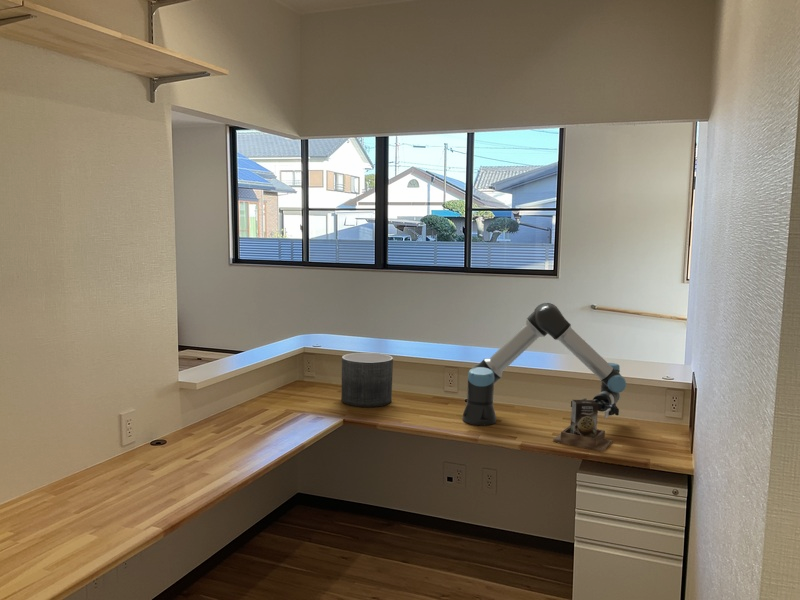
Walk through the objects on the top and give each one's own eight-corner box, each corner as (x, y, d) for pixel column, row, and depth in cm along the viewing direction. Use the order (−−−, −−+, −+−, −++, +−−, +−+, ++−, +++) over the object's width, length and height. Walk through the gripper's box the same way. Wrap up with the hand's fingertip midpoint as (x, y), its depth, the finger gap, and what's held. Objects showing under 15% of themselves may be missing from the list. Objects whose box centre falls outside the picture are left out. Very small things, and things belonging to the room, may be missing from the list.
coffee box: (574, 442, 246) (576, 403, 244) (569, 436, 252) (571, 399, 250) (596, 442, 246) (598, 403, 244) (590, 437, 252) (593, 399, 251)
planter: (397, 397, 312) (398, 354, 310) (383, 409, 288) (384, 364, 285) (351, 392, 319) (352, 351, 316) (333, 404, 294) (334, 359, 292)
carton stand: (553, 441, 249) (553, 430, 248) (564, 433, 260) (564, 422, 260) (602, 452, 238) (603, 440, 237) (611, 442, 249) (612, 432, 249)
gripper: (631, 414, 262) (619, 426, 245) (574, 404, 276) (559, 415, 259) (632, 398, 262) (620, 408, 244) (575, 388, 276) (560, 398, 258)
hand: (588, 412), depth 251 cm, fingers open, 13 cm apart
